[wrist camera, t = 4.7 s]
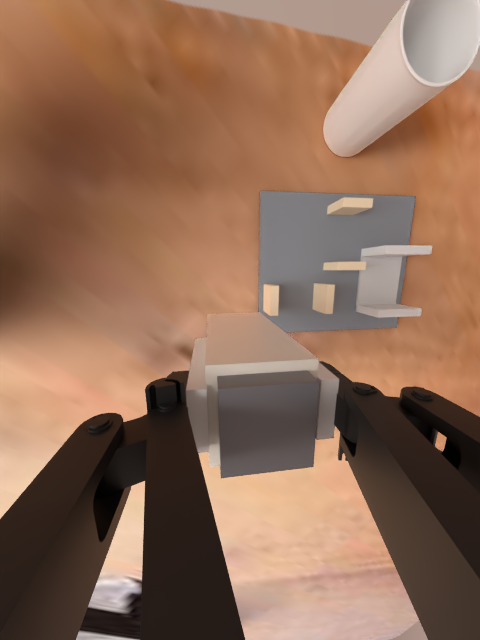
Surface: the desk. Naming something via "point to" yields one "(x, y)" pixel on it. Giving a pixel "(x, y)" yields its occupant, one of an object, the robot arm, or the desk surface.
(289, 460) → the block
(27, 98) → the desk surface
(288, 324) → the board
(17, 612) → the robot arm
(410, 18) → the mug
